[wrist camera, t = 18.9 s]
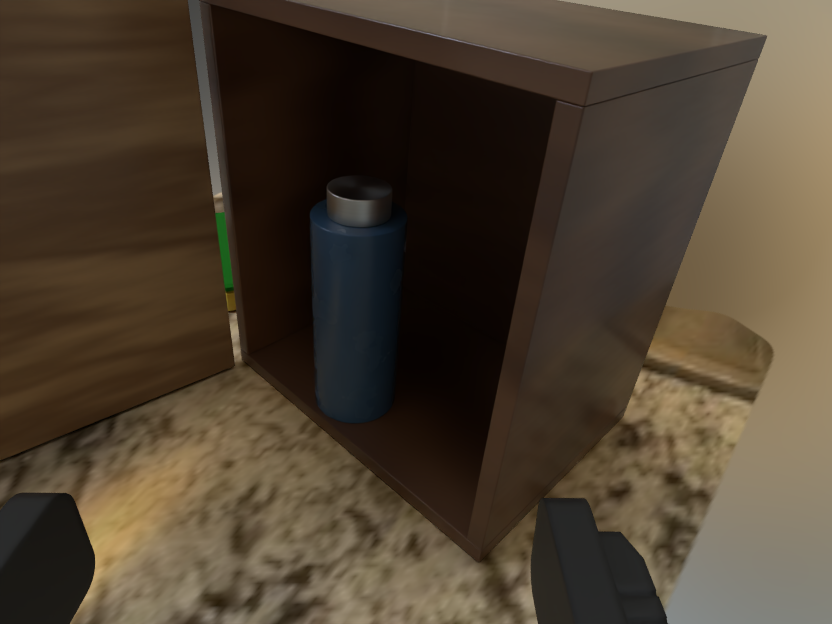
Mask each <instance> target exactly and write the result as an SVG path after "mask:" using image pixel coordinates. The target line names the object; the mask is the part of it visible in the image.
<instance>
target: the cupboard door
mask: <svg viewBox="0 0 832 624" xmlns="http://www.w3.org/2000/svg"><path fill="white" fill-rule="evenodd" d="M192 39H193V38H192V31H191V23H190V15H189V8H188V0H0V460H3V459H5V458H8V457H10V456H12V455H15V454H17V453H20V452H22V451H25V450H27V449H30V448H32V447H35V446H37V445H40V444H42V443H45V442H47V441H50V440H52V439H54V438H57V437H59V436H62V435H64V434H67V433H69V432H72V431H74V430H77V429H79V428H82V427H84V426H87V425H89V424H92V423H94V422H97V421H99V420H101V419H104V418H106V417H109V416H111V415H114V414H116V413H119V412H121V411H124V410H126V409H129V408H131V407H134V406H136V405H139V404H141V403H144V402H146V401H148V400H151V399H153V398H156V397H158V396H161V395H163V394H166V393H168V392H171V391H173V390H176V389H178V388H181V387H183V386H186V385H188V384H190V383H193V382H195V381H198V380H200V379H203V378H205V377H208V376H210V375H213V374H215V373H218V372H220V371H223V370H225V369H228V368H230V367H233V366H235V362H234V355H233V347H232V339H231V331H230V324H229V316H228V308H227V301H226V293H225V285H224V277H223V270H222V262H221V254H220V247H219V239H218V231H217V223H216V216H215V208H214V200H213V194H212V185H211V177H210V170H209V162H208V154H207V147H206V139H205V131H204V123H203V116H202V108H201V100H200V92H199V85H198V77H197V70H196V61H195V54H194V47H193V40H192Z"/></svg>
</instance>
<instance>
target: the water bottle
mask: <svg viewBox="0 0 832 624" xmlns="http://www.w3.org/2000/svg"><path fill="white" fill-rule="evenodd" d="M407 222H408V216H407V213H406V211H405V210H404V209H403V208H402V207H401V206H399V205H398V204H396V203H394V202H392V187H391V185H390V184H389V183H387V182H386V181H384V180H381V179H378V178H375V177H370V176H361V175H352V176H343V177H339V178H336V179H333V180H332V181H330V182H329V183H328V185H327V199H325V200H323V201H320V202H319V203H317V204H316V205H314V206H313V208H312V209H311V211H310V243H311V276H312V308H313V341H314V374H315V399H316V403H317V405H318V407H319V408H320V410H321V411H322V412H323V413H324V414H326V415H327V416H328V417H330V418H332V419H334V420H337V421H340V422H345V423H365V422H370V421H373V420H375V419H378V418H380V417H381V416H383V415H384V414H386V413H387V412H388V411H389V409H390V408H391V407H392V405H393V403H394V399H395V387H396V373H397V359H398V346H399V332H400V318H401V304H402V291H403V277H404V263H405V249H406V236H407Z"/></svg>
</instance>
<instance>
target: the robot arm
mask: <svg viewBox="0 0 832 624" xmlns="http://www.w3.org/2000/svg"><path fill="white" fill-rule="evenodd" d="M94 570H95V554H94V551H93V548H92V545H91V543H90V540H89V537H88V535H87V532H86V530H85V527H84V524H83V522H82V519H81V516H80V514H79V511H78V509H77V506H76V503H75V501H74V499H73V497H72V496H71V495H69V494H67V493H19V494H16V495H15V496H13V497H12V498H11V499H10V500H9V501H8V502H7V503H6V504H5V505H4V506H3V508H2V509H1V510H0V624H70V622H71V620H72V619H73V617H74V615H75V613H76V612H77V610H78V608H79V606H80V604H81V603H82V601H83V599H84V597H85V596H86V594H87V592H88V590H89V588H90V585H91V582H92V579H93V575H94ZM531 585H532V593H533V599H534V605H535V610H536V615H537V621H538V624H668V623H667V617H666V614H665V611H664V609H663V606H662V604H661V601H660V599H659V597H657V595H656V589H655V586H654V584H653V581H652V579H651V576H650V574H649V571H648V569H647V566H646V564H645V561H644V559H643V557H642V556H641V555H640V554H639V553H638V552H637V551H636V549H635V548H634V547H633V546H632V545H631V544H630V543H629V541H628V540H627V539H626V538H625V537H624V536H623V534H622V533H621V532H598V529H597V526H596V523H595V520H594V517H593V514H592V511H591V508H590V506H589V503H588V502H587V500H586V499H585V498H541V499H540V501H539V505H538V512H537V519H536V526H535V533H534V540H533V547H532V554H531Z"/></svg>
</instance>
